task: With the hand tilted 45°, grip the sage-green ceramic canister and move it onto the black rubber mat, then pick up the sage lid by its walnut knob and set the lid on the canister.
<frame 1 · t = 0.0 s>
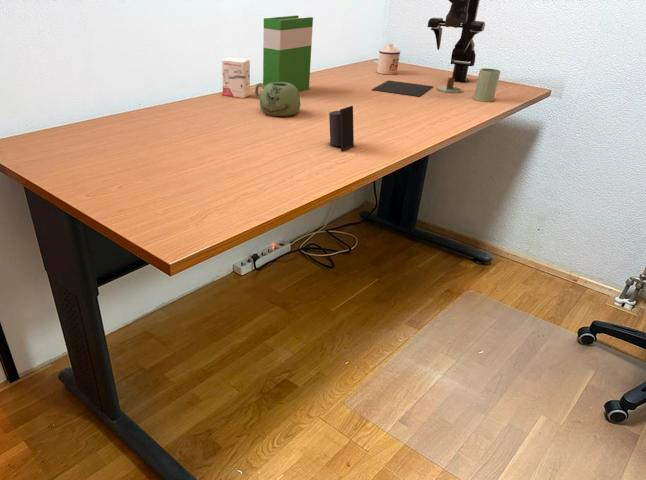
hand: (450, 51, 181), 15 cm above the table, tool pointing down, fingers open, 9 cm apart
hardback book: (286, 91, 184), on the table
mug: (275, 112, 159), on the table
mat: (402, 88, 193), on the table
lid: (449, 90, 193), on the table
canister: (483, 99, 182), on the table
teacup with lid: (388, 72, 220), on the table
speaker: (338, 146, 132), on the table
ink box: (236, 95, 176), on the table
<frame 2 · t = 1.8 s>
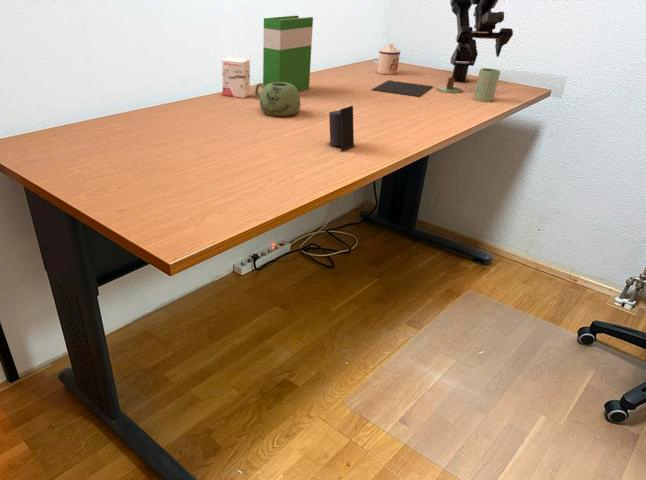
hand: (485, 55, 182), 13 cm above the table, tool tilted 45°, fingers open, 9 cm apart
nothing on the table moved.
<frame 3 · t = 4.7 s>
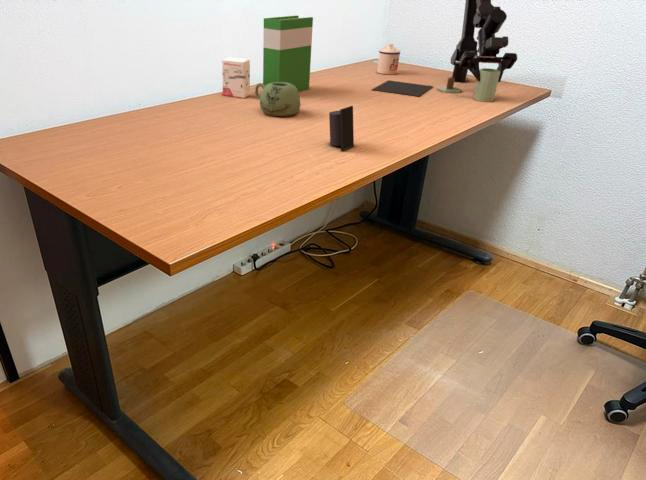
hand: (489, 81, 177), 7 cm above the table, tool tilted 45°, fingers closed on canister, 7 cm apart
canister: (483, 99, 182), on the table, touching gripper
everything else where it was.
when the fingers open (7 cm above the table, at t = 13.8 s): canister stays where it is, resting on mat.
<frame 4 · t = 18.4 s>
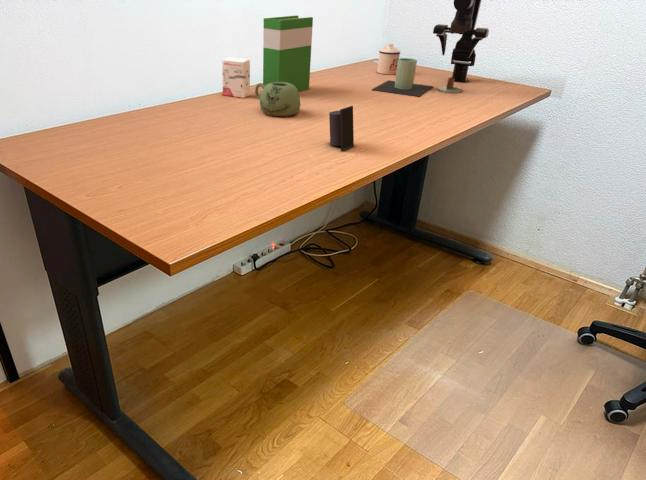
hand: (455, 56, 187), 12 cm above the table, tool pointing down, fingers open, 9 cm apart
canister: (403, 87, 193), resting on mat
everything else where it was.
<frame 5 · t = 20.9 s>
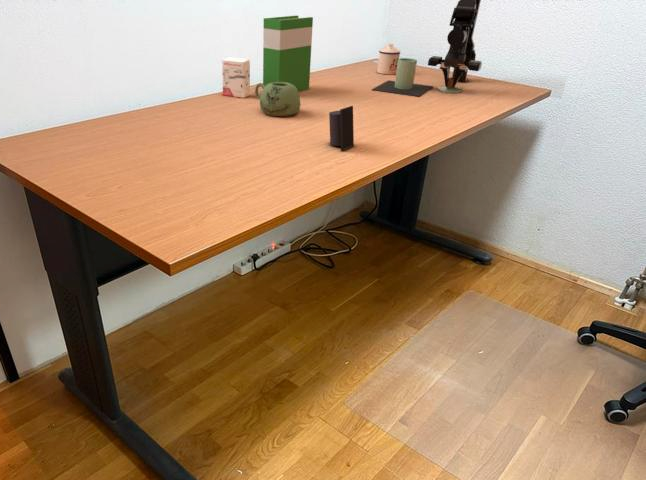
hand: (449, 87, 192), 1 cm above the table, tool pointing down, fingers closed on lid, 2 cm apart
lid: (449, 90, 193), on the table, touching gripper
everything else where it was.
when the fingers open (11 cm above the table, at t = 25.4 s): lid stays where it is, resting on canister.
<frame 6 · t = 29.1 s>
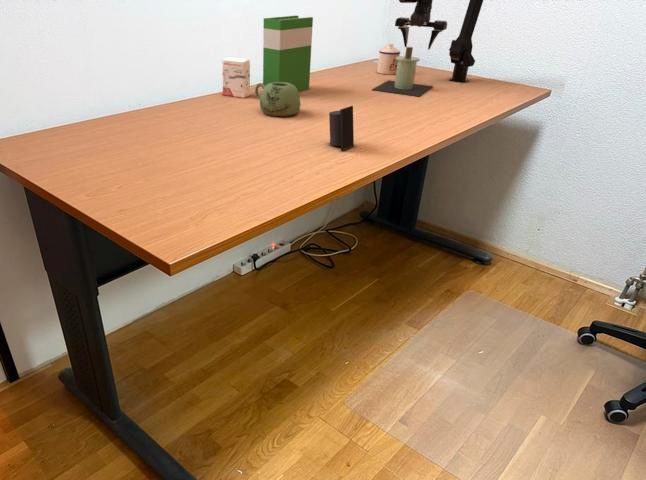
hand: (417, 48, 195), 13 cm above the table, tool pointing down, fingers open, 9 cm apart
lid: (407, 59, 188), point 10 cm above the table, touching canister
canister: (403, 87, 193), resting on mat, touching lid
everything else where it was.
at the end: canister inside the target area on the mat (0.5 cm from its centre), point 0.3 cm above the mat's base; lid 0.0 cm off-centre on the canister, point 10.0 cm above the canister's base; lid tilted 0° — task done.
